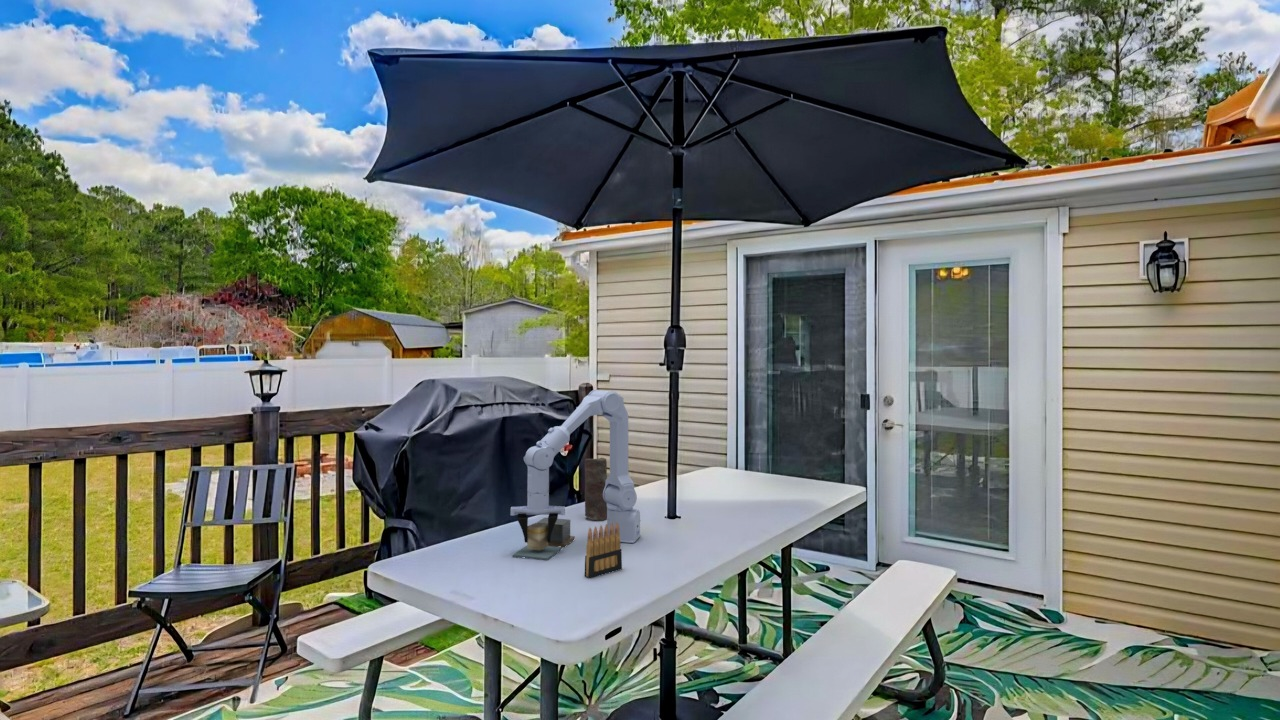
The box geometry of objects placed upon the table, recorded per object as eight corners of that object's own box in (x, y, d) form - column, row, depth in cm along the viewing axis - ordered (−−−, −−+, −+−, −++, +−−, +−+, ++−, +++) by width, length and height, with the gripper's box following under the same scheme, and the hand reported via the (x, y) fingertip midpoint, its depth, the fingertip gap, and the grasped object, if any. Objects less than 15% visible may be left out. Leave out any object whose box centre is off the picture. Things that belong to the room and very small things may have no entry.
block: (548, 546, 183) (548, 524, 183) (539, 550, 180) (539, 528, 180) (535, 544, 185) (535, 522, 185) (527, 548, 181) (527, 526, 181)
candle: (580, 520, 218) (581, 458, 218) (589, 515, 225) (589, 455, 225) (603, 522, 216) (603, 459, 215) (610, 516, 223) (611, 456, 222)
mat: (561, 549, 186) (561, 547, 186) (547, 560, 176) (547, 558, 176) (528, 546, 189) (528, 544, 189) (512, 556, 179) (512, 554, 179)
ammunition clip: (588, 578, 163) (589, 529, 163) (584, 576, 164) (584, 527, 164) (622, 569, 170) (622, 521, 170) (617, 567, 171) (617, 520, 171)
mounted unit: (574, 539, 196) (574, 519, 196) (564, 547, 188) (564, 526, 188) (542, 536, 198) (542, 516, 198) (531, 544, 191) (531, 523, 190)
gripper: (565, 488, 187) (565, 536, 187) (512, 488, 186) (512, 537, 186) (564, 493, 180) (564, 544, 180) (509, 493, 179) (509, 544, 179)
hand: (537, 541), depth 182 cm, fingers closed on block, 5 cm apart
